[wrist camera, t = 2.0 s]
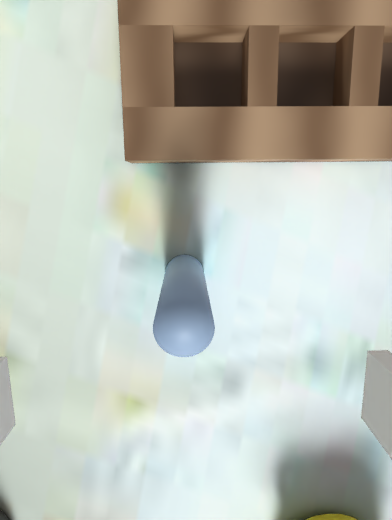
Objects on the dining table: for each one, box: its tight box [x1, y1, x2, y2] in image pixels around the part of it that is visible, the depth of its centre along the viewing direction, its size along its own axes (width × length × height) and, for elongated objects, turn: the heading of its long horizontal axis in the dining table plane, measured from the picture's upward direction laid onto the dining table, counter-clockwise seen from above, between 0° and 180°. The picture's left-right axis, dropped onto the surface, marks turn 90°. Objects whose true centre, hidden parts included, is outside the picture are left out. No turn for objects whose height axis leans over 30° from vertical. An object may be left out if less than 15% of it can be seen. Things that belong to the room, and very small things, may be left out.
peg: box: [153, 255, 215, 357], centre depth 25 cm, size 3×3×12 cm
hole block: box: [118, 0, 392, 163], centre depth 26 cm, size 26×12×3 cm, turn 90°
